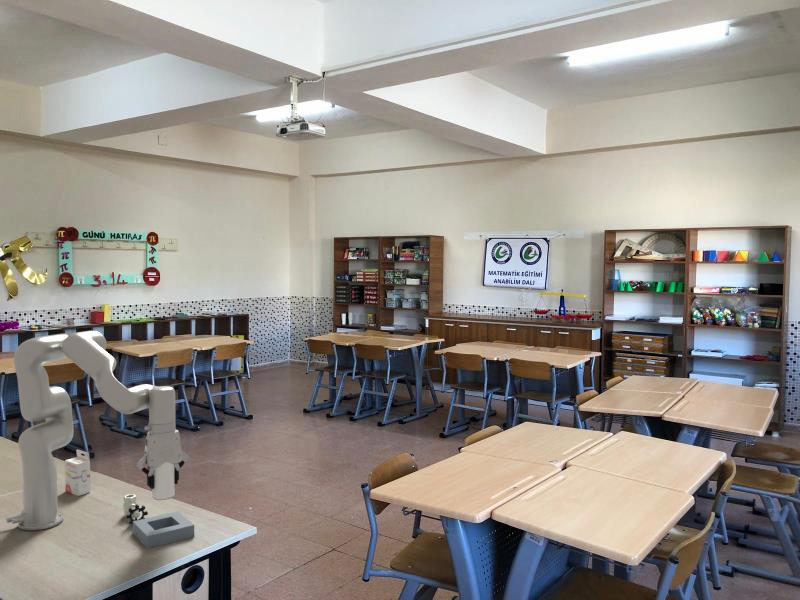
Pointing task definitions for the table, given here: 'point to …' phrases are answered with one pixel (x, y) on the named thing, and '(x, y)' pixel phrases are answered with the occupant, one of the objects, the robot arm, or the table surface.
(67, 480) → the ink cartridge box
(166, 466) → the can
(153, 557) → the table surface
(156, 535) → the socket block
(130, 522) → the valve
